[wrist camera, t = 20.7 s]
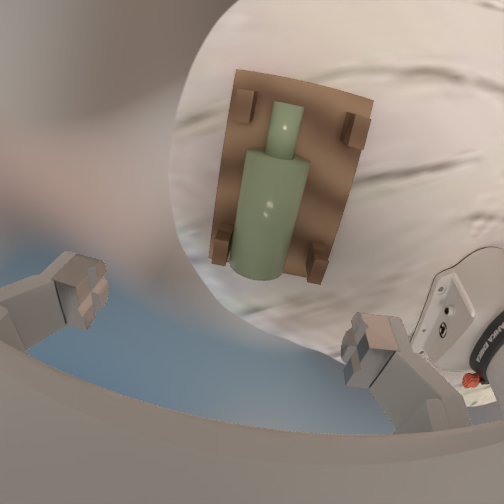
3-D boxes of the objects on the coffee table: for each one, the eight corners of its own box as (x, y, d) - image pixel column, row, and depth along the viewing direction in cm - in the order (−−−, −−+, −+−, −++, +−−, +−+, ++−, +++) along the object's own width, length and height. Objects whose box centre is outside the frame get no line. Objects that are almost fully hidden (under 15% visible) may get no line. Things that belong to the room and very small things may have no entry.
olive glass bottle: (294, 272, 33) (335, 114, 24) (250, 286, 29) (287, 104, 21) (261, 245, 37) (290, 103, 28) (218, 255, 33) (242, 95, 25)
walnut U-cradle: (319, 274, 38) (323, 300, 34) (210, 253, 38) (201, 276, 33) (370, 100, 27) (386, 102, 22) (238, 70, 27) (229, 65, 22)
